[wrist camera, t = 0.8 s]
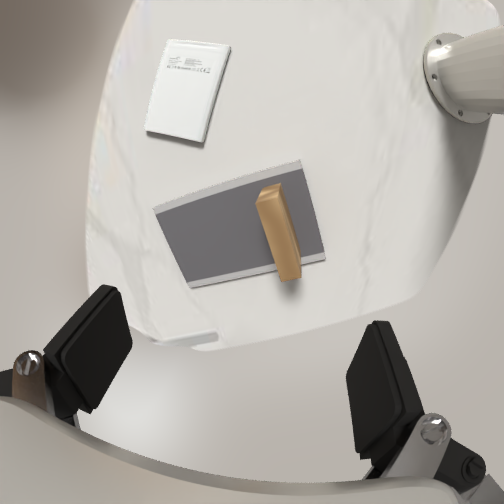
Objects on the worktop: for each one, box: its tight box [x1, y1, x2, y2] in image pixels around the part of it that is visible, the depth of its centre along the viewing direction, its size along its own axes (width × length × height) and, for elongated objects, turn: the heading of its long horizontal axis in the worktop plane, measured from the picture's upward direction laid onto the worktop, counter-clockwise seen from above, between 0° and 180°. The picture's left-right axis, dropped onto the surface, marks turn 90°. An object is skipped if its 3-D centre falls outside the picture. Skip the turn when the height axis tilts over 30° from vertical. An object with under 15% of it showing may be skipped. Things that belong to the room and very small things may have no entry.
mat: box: [153, 160, 326, 288], centre depth 35 cm, size 20×13×1 cm, turn 109°
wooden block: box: [255, 183, 301, 282], centre depth 30 cm, size 2×9×6 cm, turn 19°
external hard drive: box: [143, 39, 231, 142], centre depth 27 cm, size 2×8×12 cm
